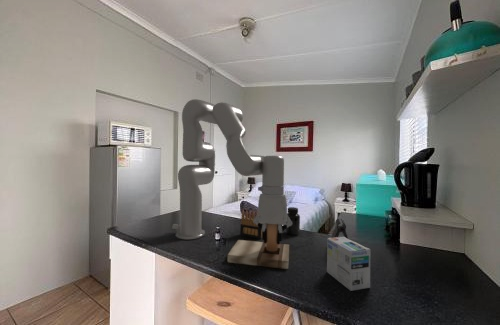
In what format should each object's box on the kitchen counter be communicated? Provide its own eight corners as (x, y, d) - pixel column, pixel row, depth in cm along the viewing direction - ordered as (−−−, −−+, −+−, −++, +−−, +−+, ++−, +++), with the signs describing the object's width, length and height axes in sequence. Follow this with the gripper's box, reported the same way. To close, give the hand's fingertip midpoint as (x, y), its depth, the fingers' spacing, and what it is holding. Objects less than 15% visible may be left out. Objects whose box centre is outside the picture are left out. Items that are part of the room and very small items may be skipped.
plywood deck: (227, 262, 73) (227, 254, 73) (238, 246, 87) (238, 239, 87) (288, 269, 69) (288, 261, 69) (289, 251, 83) (289, 244, 83)
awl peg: (265, 250, 75) (266, 222, 75) (267, 246, 79) (267, 218, 79) (277, 251, 74) (277, 222, 74) (278, 247, 78) (278, 219, 78)
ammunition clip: (263, 238, 96) (263, 211, 96) (261, 239, 94) (261, 211, 94) (241, 233, 101) (242, 208, 101) (239, 235, 99) (240, 208, 99)
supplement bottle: (282, 233, 103) (282, 208, 103) (289, 230, 108) (290, 205, 108) (294, 237, 98) (295, 210, 98) (302, 233, 103) (302, 208, 103)
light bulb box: (371, 288, 59) (372, 249, 59) (350, 292, 57) (351, 251, 57) (343, 269, 70) (344, 235, 70) (325, 272, 68) (326, 237, 68)
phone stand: (351, 250, 84) (352, 219, 84) (354, 257, 79) (355, 224, 78) (327, 247, 87) (327, 217, 87) (327, 253, 81) (328, 221, 81)
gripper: (247, 191, 75) (246, 244, 75) (297, 193, 71) (296, 248, 71) (251, 188, 82) (250, 236, 82) (296, 190, 79) (296, 240, 79)
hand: (272, 241), depth 77 cm, fingers closed on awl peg, 4 cm apart
